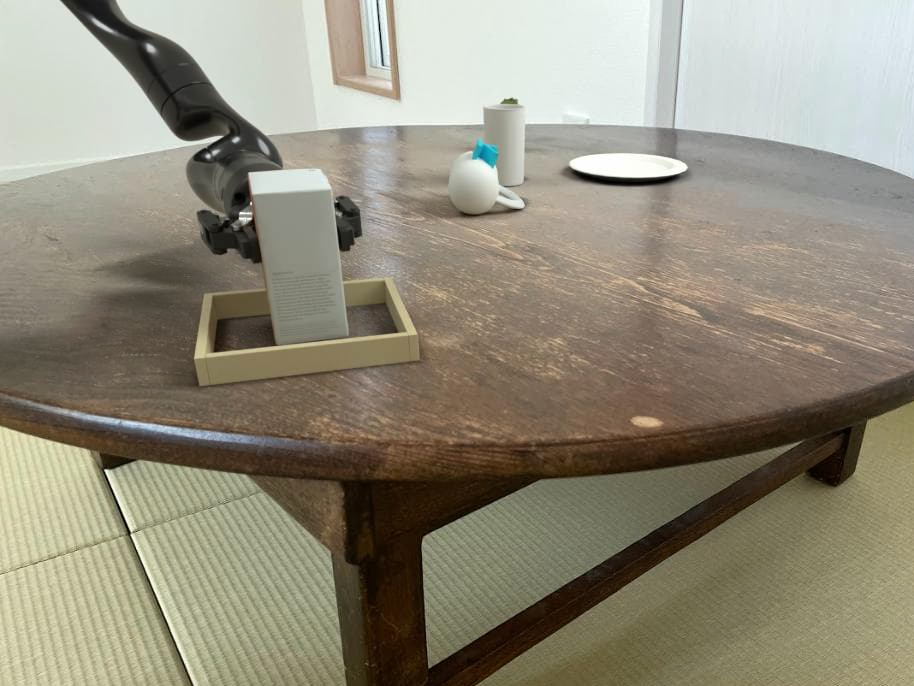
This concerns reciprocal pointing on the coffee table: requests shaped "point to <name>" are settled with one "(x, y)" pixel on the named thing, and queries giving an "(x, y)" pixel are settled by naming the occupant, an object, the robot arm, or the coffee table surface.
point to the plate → (628, 167)
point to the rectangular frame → (302, 355)
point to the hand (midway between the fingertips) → (301, 245)
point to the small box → (299, 254)
